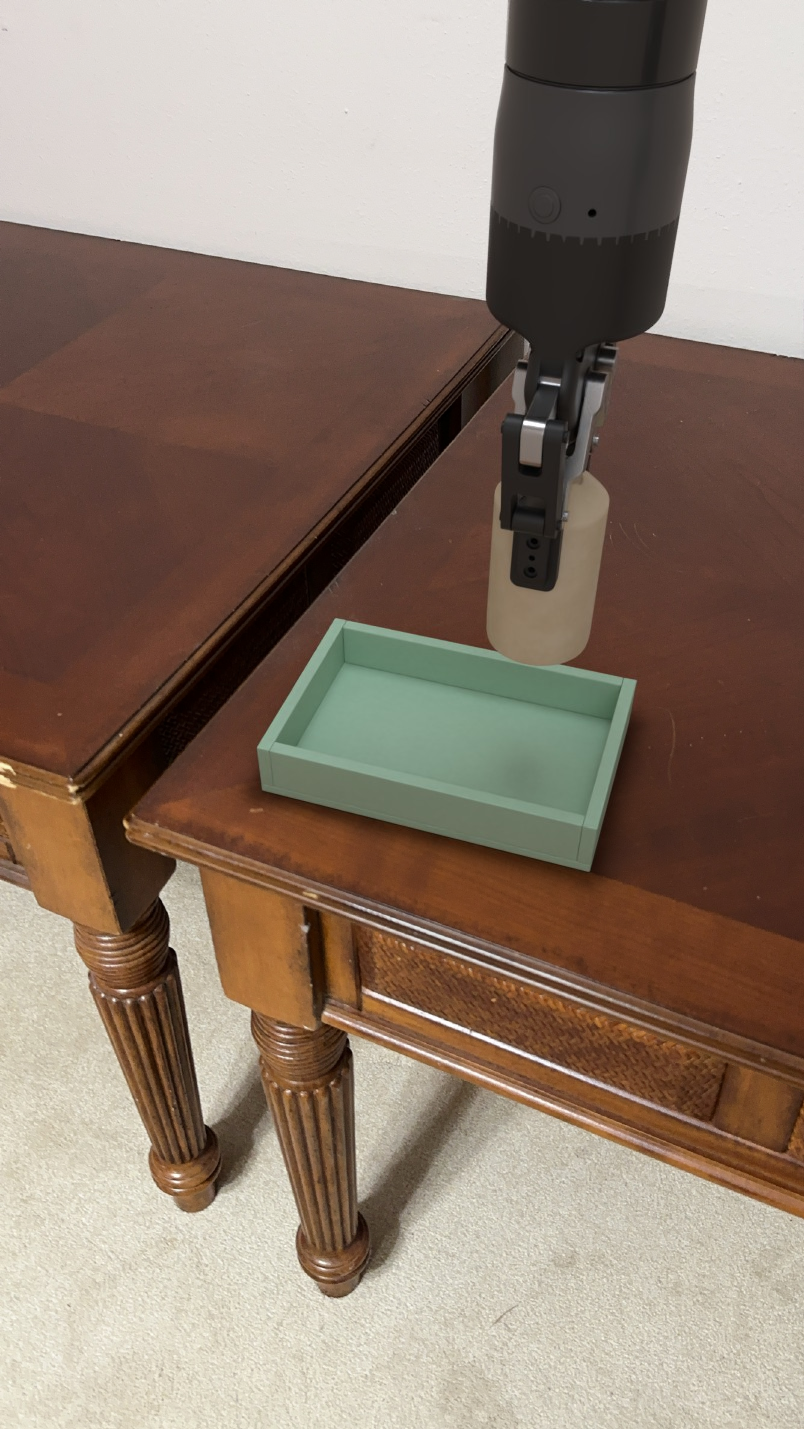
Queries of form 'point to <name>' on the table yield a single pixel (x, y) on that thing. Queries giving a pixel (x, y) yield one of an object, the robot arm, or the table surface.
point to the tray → (452, 741)
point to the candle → (563, 615)
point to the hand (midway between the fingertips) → (547, 548)
